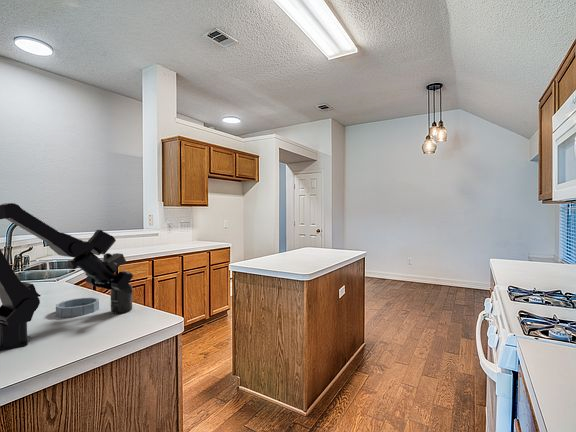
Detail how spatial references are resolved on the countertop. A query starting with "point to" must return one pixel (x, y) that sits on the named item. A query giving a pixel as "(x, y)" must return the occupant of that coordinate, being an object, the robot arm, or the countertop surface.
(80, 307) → the bowl
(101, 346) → the countertop surface
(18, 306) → the robot arm
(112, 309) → the supplement bottle
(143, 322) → the countertop surface
